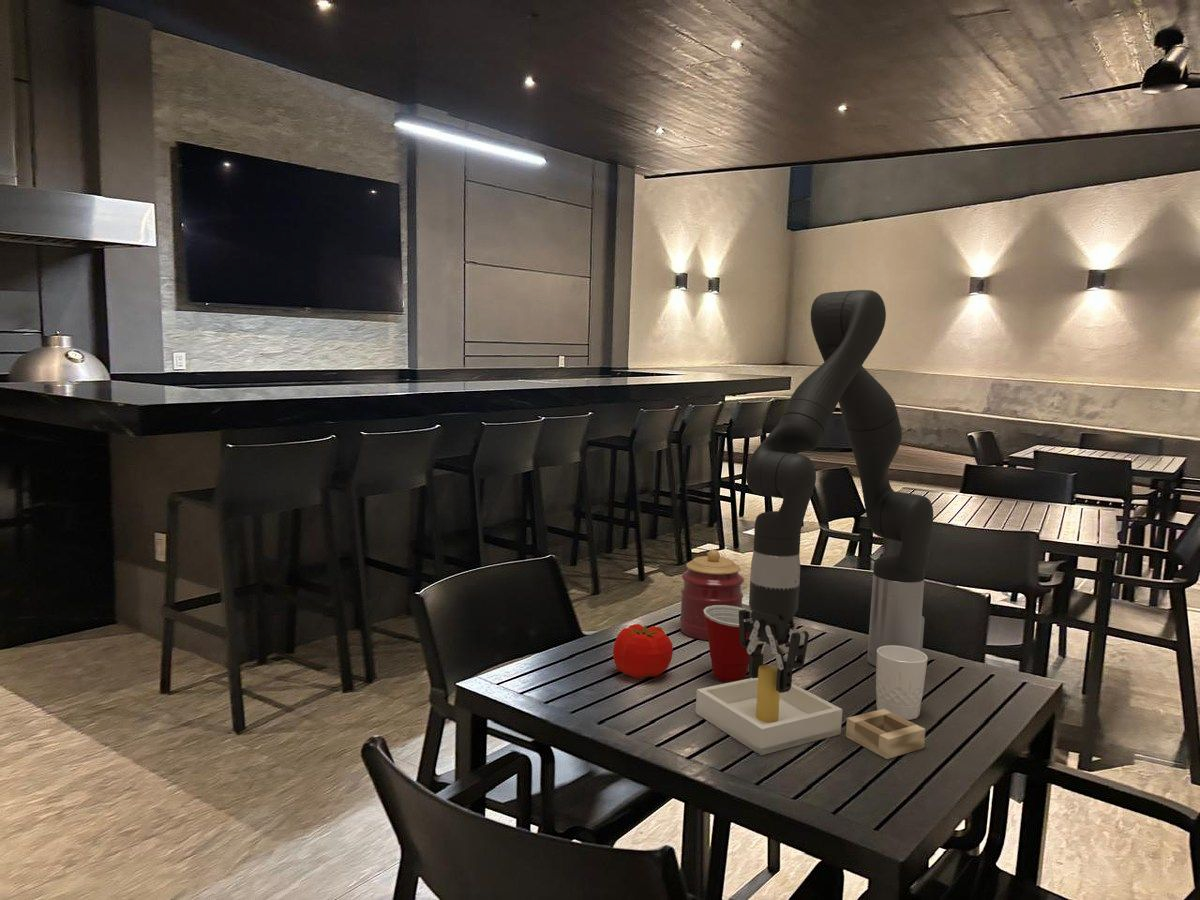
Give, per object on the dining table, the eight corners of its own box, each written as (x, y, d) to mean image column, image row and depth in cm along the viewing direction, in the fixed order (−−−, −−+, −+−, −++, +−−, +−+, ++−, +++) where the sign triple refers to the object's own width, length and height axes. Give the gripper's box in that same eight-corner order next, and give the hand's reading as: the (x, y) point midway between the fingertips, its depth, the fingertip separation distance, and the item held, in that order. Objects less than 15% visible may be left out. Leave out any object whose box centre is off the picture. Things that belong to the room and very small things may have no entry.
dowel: (768, 711, 133) (771, 663, 132) (783, 719, 130) (785, 670, 129) (751, 715, 132) (753, 666, 131) (765, 724, 129) (768, 674, 128)
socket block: (882, 726, 131) (883, 708, 131) (924, 748, 124) (925, 728, 124) (845, 736, 127) (846, 718, 127) (886, 759, 120) (888, 739, 120)
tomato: (681, 682, 147) (683, 634, 146) (623, 688, 143) (625, 639, 142) (657, 661, 157) (659, 616, 156) (603, 666, 153) (604, 621, 152)
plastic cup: (760, 691, 144) (764, 624, 142) (697, 684, 146) (701, 618, 145) (761, 669, 154) (764, 606, 153) (702, 663, 156) (705, 601, 155)
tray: (771, 696, 142) (772, 673, 142) (840, 734, 128) (842, 709, 128) (695, 713, 134) (696, 689, 134) (760, 755, 120) (762, 729, 120)
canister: (725, 646, 166) (729, 560, 164) (668, 633, 173) (671, 550, 171) (750, 630, 177) (755, 549, 175) (696, 618, 184) (699, 540, 182)
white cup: (899, 725, 132) (903, 665, 131) (862, 706, 139) (866, 649, 138) (933, 717, 136) (938, 658, 134) (896, 699, 143) (900, 642, 141)
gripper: (826, 589, 124) (819, 696, 126) (762, 566, 137) (757, 665, 138) (788, 594, 120) (781, 705, 122) (726, 571, 133) (721, 672, 135)
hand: (768, 683), depth 130 cm, fingers open, 6 cm apart
